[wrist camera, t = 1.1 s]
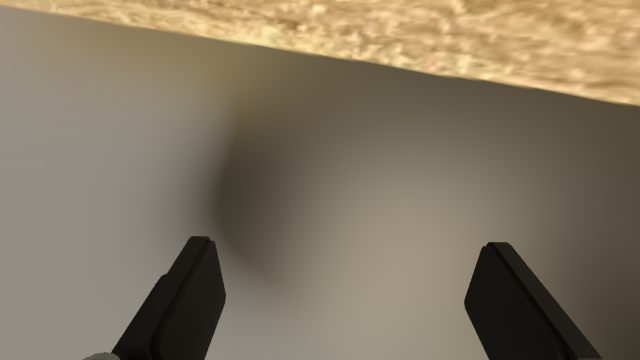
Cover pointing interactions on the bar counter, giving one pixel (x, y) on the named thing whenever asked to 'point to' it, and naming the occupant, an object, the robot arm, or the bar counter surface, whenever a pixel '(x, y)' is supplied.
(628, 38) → the bar counter surface
